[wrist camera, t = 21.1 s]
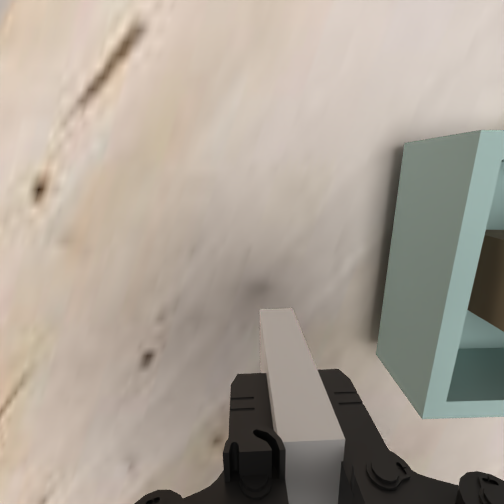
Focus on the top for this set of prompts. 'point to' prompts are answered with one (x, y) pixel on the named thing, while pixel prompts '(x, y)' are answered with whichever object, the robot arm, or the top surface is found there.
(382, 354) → the tray
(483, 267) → the walnut block
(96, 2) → the top surface
